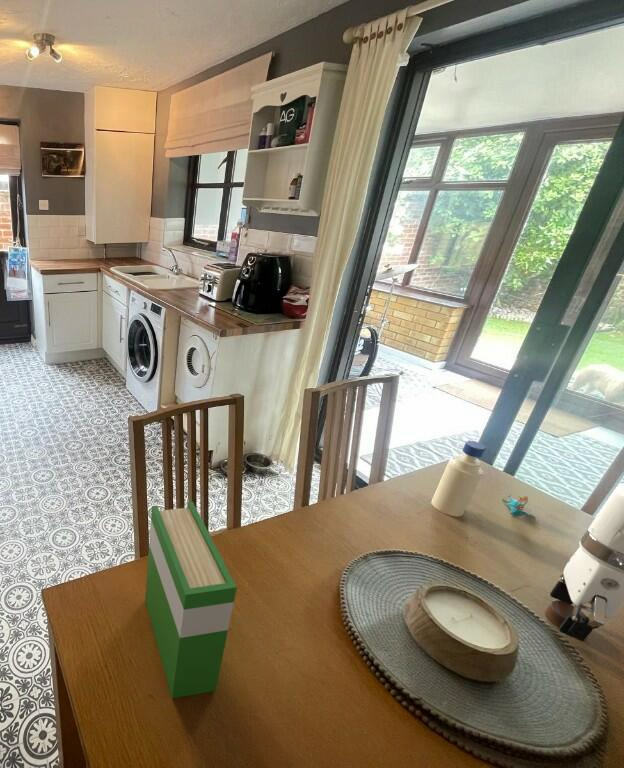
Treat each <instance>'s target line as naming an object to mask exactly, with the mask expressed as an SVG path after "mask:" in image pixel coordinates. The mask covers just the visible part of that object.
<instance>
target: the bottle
mask: <svg viewBox="0 0 624 768" xmlns="http://www.w3.org/2000/svg"><path fill="white" fill-rule="evenodd" d="M486 450H487V447H486V445H484V444H483V443H481V442H478V441H474V440H466V441H465V444H464V446H463V448H462V452H463V453H464V454H457V455H456V457H455V458H450V459H449V460H448V461H447V465H446V466H445V469H444V471H443V474H442V476H441V478H440V481H439V483H438V485H437V487H436V489H435V492H434V495H433V497H432V499H431V505H432V506H433V507H434V508H435V509H436V510H438V511H439V512H441V513H443V514H445V515H448V516H451V517H462V516H464V513H465V512H466V509H467V507H468V505H469V503H470V501H471V499H472V497H473V495H474V494H475V491H476V489H477V487H478V485H479V483H480V481H481V479H482V476H483V475H484V470H483V468H482V467H481V466H482V461H480V460H479V458H482V457H483V455H484V453H485V451H486Z"/></svg>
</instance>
